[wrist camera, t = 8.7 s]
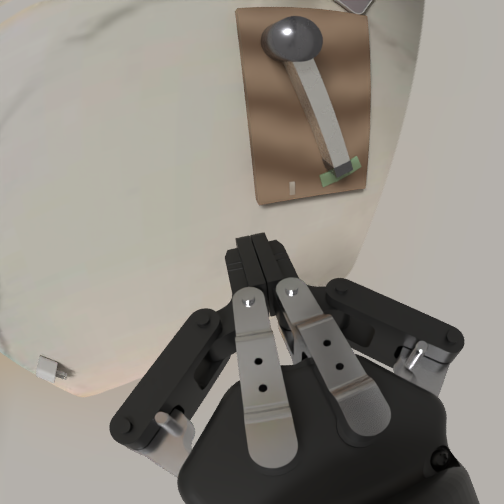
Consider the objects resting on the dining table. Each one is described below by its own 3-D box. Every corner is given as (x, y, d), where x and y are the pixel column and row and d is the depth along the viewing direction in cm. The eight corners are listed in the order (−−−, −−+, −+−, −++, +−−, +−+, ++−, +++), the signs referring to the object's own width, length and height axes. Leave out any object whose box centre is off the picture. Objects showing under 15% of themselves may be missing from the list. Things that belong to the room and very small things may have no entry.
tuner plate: (235, 11, 20) (237, 7, 18) (359, 17, 21) (368, 15, 20) (256, 199, 33) (259, 206, 32) (359, 183, 35) (366, 189, 33)
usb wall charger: (40, 354, 43) (36, 370, 40) (68, 365, 46) (66, 381, 43) (39, 362, 44) (36, 377, 41) (67, 372, 48) (64, 387, 45)
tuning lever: (252, 31, 20) (264, 24, 17) (293, 17, 20) (310, 10, 16) (316, 171, 31) (332, 187, 27) (348, 156, 30) (367, 170, 27)
